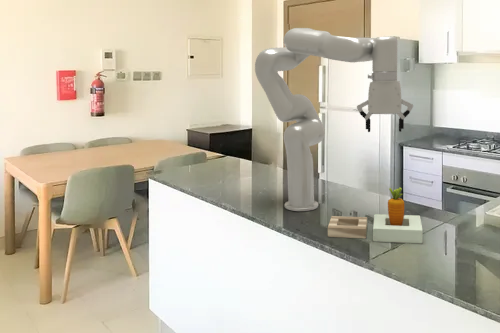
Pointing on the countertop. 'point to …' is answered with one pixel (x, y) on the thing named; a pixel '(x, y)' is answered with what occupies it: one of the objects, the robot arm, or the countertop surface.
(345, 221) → the socket block
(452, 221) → the countertop surface
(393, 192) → the carrot
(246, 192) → the countertop surface
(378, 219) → the pale green square frame
